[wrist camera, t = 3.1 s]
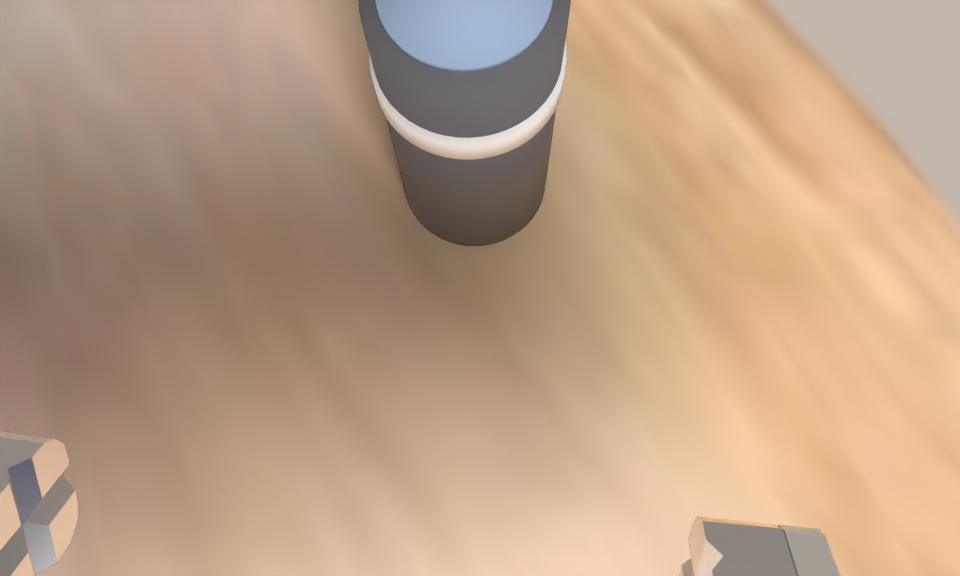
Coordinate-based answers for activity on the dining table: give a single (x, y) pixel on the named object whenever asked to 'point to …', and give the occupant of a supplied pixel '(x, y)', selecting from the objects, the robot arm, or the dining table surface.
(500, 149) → the lens
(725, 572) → the robot arm
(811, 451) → the dining table surface
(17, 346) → the dining table surface
